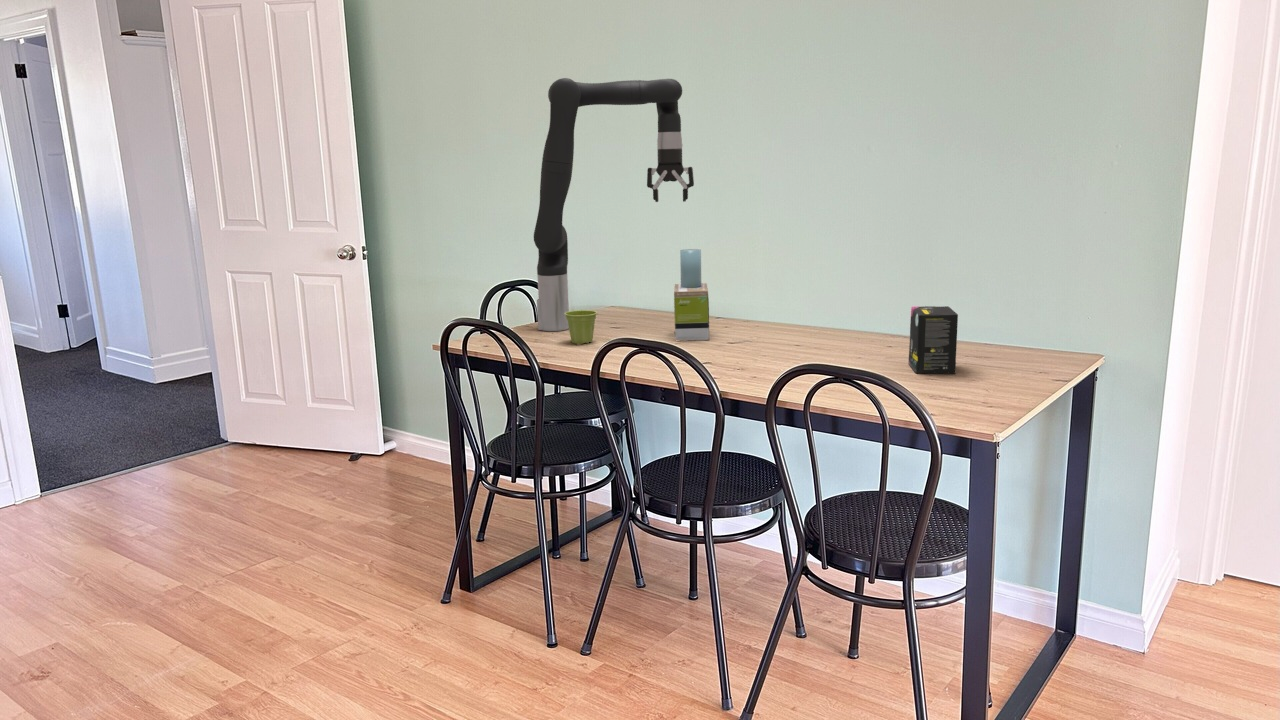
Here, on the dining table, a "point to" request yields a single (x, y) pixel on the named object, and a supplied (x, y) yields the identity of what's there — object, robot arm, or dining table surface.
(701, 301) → the tea box
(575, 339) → the plant pot
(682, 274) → the light blue rounded cylinder
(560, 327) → the robot arm
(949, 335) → the tampon box
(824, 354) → the dining table surface
